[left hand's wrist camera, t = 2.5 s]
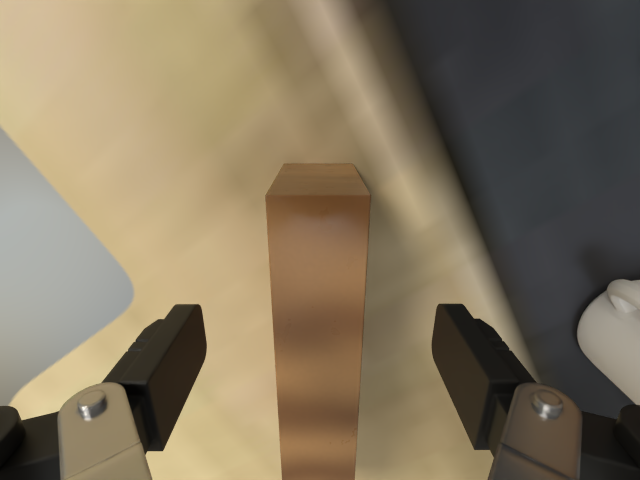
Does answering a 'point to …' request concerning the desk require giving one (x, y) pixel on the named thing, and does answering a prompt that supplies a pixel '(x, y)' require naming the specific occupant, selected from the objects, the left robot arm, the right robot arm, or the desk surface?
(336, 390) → the bar
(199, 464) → the desk surface
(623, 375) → the mug
